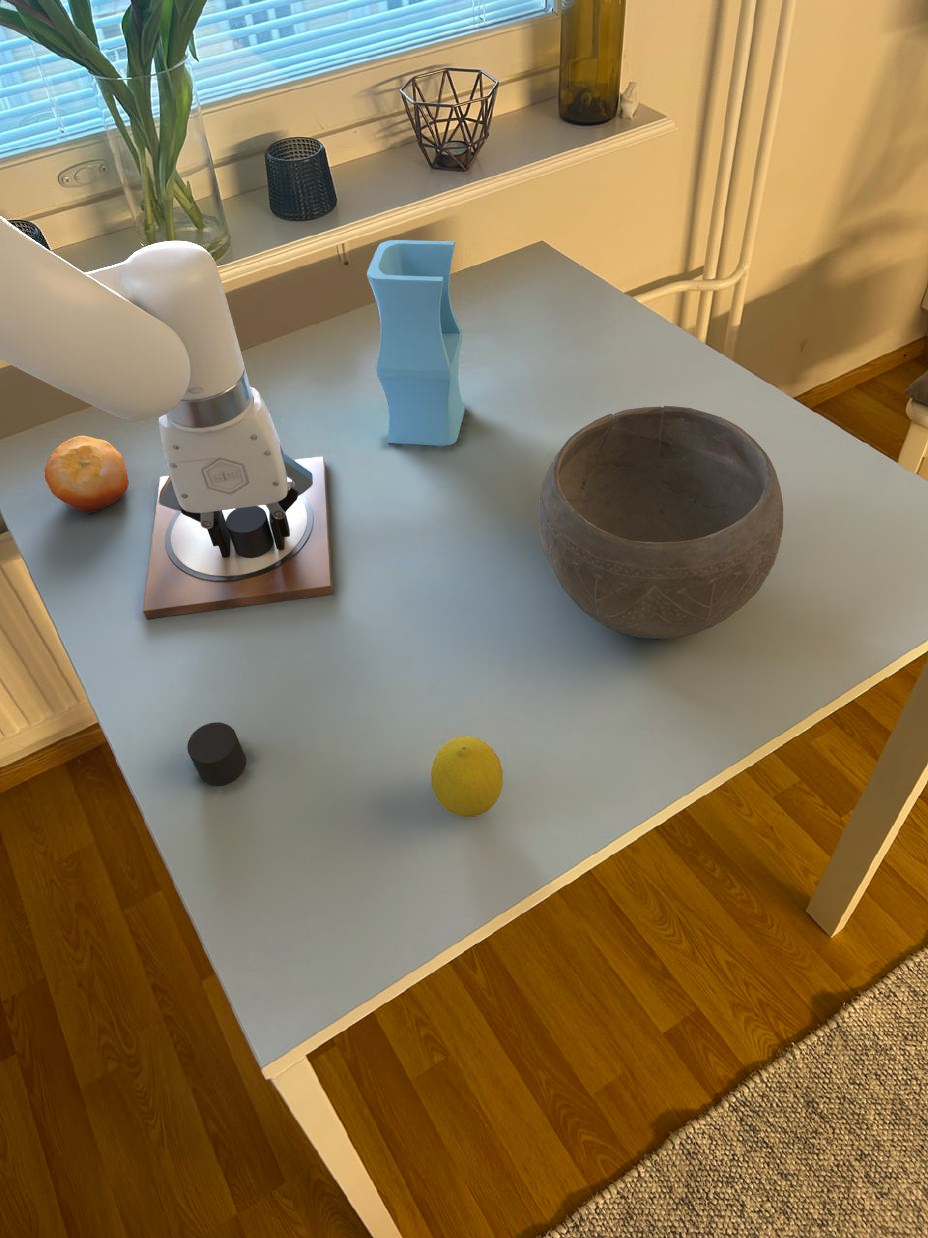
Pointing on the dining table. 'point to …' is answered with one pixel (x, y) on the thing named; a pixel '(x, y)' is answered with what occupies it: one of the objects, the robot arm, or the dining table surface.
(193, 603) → the board
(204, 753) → the dot
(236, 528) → the dot
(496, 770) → the lemon
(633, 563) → the bowl
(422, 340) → the vase
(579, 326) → the dining table surface
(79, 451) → the fruit
